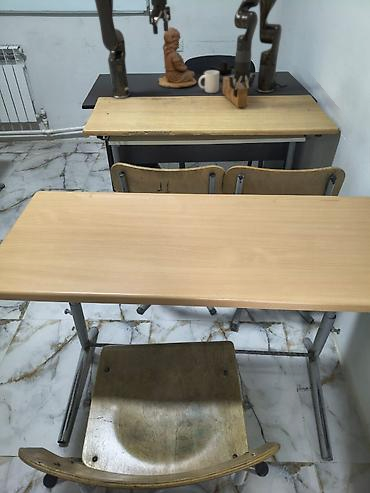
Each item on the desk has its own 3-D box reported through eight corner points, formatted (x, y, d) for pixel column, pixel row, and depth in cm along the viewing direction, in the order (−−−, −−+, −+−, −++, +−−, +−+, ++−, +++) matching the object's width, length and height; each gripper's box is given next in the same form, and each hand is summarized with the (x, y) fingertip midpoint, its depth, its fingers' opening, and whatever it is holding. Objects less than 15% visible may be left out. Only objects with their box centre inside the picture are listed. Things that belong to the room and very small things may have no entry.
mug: (199, 94, 205) (199, 75, 198) (197, 89, 211) (197, 71, 204) (220, 92, 206) (220, 73, 199) (217, 88, 212) (217, 69, 205)
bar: (222, 93, 202) (222, 76, 196) (230, 92, 202) (231, 75, 197) (237, 107, 184) (238, 89, 178) (246, 106, 185) (247, 88, 179)
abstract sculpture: (206, 66, 216) (199, 58, 231) (206, 82, 222) (199, 74, 237) (246, 63, 219) (237, 56, 234) (245, 79, 224) (236, 71, 240)
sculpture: (197, 88, 213) (196, 30, 194) (156, 89, 214) (152, 31, 194) (196, 75, 234) (196, 22, 215) (159, 76, 235) (156, 23, 215)
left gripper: (155, -5, 162) (158, 35, 173) (173, -9, 171) (175, 30, 182) (142, -6, 166) (146, 34, 176) (161, -9, 175) (163, 29, 185)
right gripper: (231, 63, 169) (229, 100, 180) (260, 60, 171) (256, 97, 182) (226, 59, 174) (224, 95, 185) (253, 56, 177) (250, 92, 188)
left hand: (161, 32), depth 179 cm, fingers open, 8 cm apart
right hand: (240, 96), depth 184 cm, fingers closed on bar, 4 cm apart
